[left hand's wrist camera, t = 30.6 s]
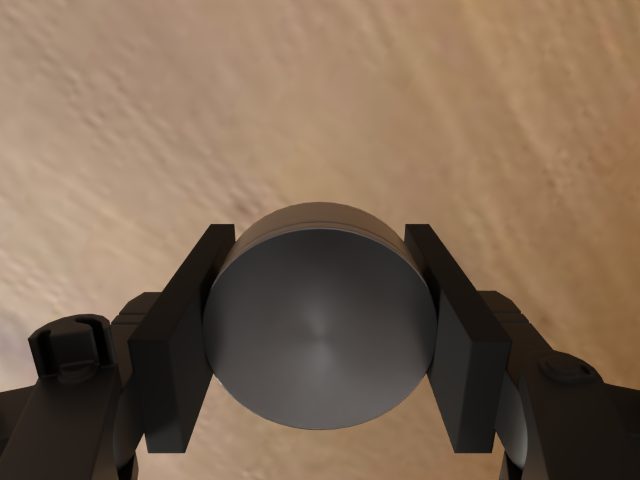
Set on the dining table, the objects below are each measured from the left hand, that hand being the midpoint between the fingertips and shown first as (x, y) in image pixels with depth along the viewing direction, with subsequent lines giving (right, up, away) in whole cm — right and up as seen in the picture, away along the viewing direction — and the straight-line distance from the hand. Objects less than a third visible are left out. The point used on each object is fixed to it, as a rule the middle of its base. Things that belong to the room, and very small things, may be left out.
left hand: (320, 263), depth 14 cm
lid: (0, -1, -4) cm, 4 cm away
